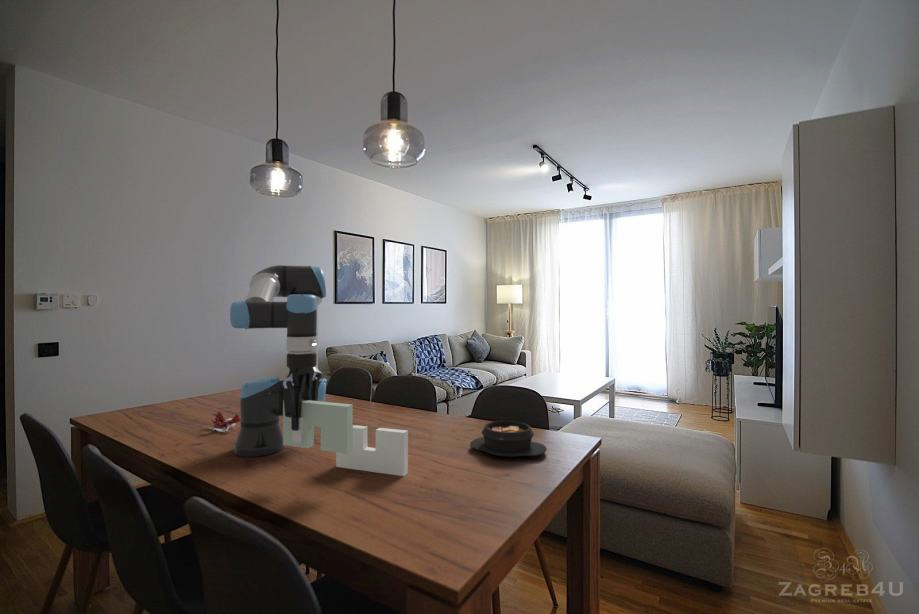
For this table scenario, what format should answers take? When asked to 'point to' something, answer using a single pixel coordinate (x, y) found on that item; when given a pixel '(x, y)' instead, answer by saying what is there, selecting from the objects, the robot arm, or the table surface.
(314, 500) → the table surface
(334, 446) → the green board
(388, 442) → the white board
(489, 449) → the casserole
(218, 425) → the figurine
